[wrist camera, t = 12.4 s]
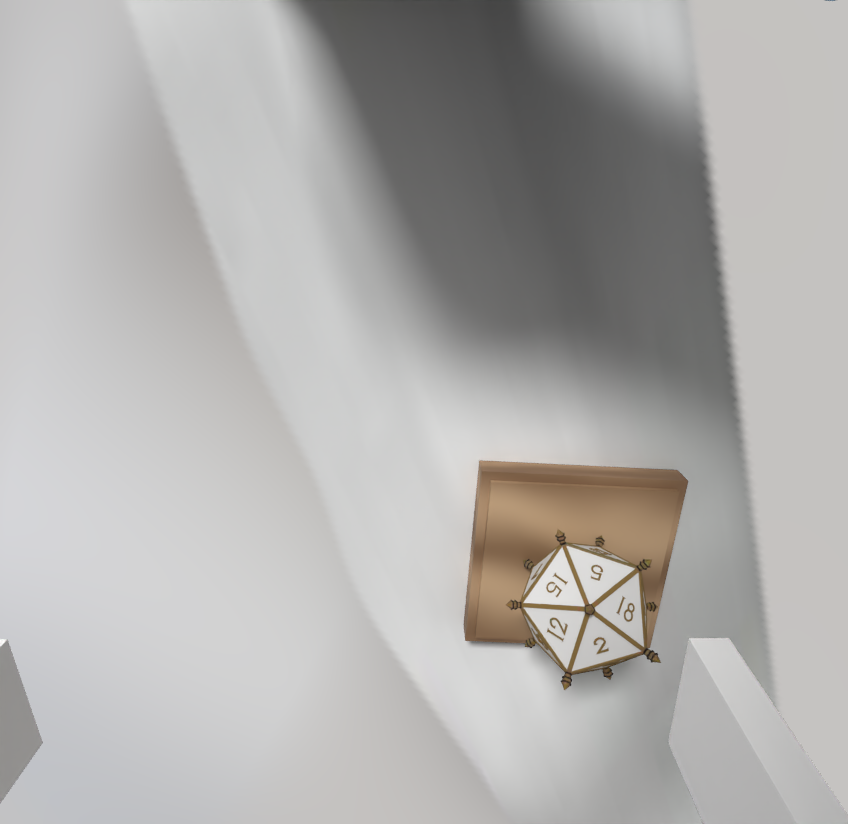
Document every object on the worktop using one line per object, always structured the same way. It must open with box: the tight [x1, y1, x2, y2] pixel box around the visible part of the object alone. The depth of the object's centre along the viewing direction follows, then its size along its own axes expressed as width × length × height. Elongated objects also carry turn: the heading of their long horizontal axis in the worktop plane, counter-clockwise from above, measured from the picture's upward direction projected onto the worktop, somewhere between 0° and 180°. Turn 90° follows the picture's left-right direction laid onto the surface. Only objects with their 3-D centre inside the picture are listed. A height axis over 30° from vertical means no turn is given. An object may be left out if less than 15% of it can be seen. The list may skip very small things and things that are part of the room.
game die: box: [506, 529, 661, 690], centre depth 34 cm, size 9×8×10 cm
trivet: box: [464, 461, 688, 648], centre depth 39 cm, size 13×13×2 cm
